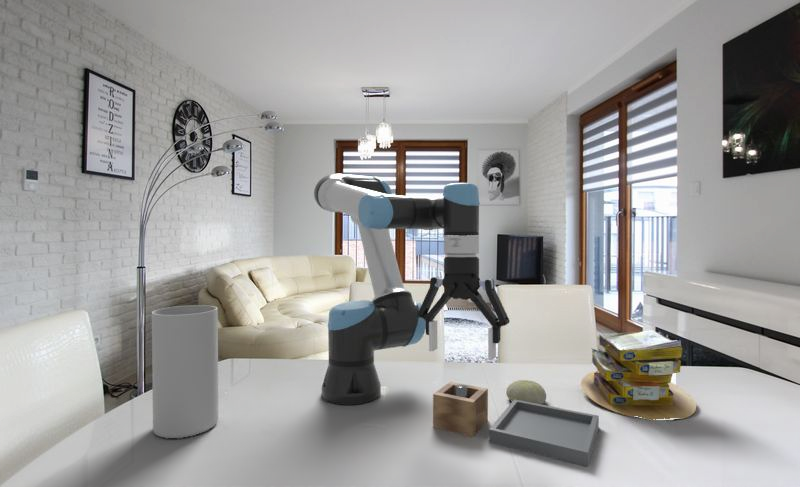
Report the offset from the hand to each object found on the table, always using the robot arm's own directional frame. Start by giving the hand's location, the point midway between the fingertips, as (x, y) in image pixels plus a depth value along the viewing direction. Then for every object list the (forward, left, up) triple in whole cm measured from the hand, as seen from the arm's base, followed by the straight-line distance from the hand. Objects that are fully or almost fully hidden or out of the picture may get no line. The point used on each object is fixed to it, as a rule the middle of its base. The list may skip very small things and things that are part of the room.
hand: (461, 354), depth 93 cm
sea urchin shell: (+9, +20, -16) cm, 27 cm away
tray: (+17, +4, -15) cm, 23 cm away
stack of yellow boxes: (+32, +35, -16) cm, 50 cm away
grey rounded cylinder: (0, 0, -15) cm, 15 cm away
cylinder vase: (-50, -31, -15) cm, 61 cm away
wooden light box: (0, +1, -15) cm, 15 cm away
